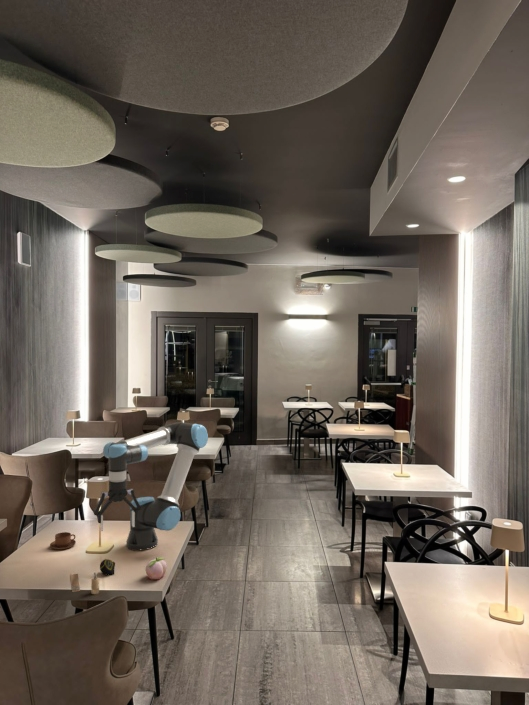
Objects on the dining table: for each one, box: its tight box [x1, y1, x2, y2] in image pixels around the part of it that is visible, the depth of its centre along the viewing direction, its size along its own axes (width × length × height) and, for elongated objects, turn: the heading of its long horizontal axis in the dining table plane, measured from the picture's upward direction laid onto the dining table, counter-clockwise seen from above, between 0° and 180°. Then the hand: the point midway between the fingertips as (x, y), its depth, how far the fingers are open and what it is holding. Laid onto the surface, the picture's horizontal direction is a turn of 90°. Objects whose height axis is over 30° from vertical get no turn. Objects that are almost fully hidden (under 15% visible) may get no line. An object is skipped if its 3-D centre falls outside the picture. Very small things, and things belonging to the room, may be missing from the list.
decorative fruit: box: [145, 557, 168, 580], centre depth 232 cm, size 9×8×10 cm
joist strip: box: [69, 573, 81, 593], centre depth 227 cm, size 3×18×1 cm, turn 22°
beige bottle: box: [90, 572, 100, 595], centre depth 218 cm, size 3×3×9 cm
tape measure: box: [99, 558, 116, 576], centre depth 237 cm, size 7×7×4 cm
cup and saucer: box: [49, 531, 76, 550], centre depth 270 cm, size 12×12×6 cm
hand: (117, 528), depth 240 cm, fingers open, 13 cm apart
